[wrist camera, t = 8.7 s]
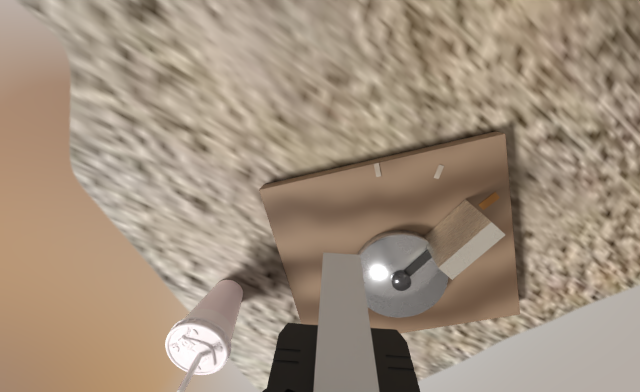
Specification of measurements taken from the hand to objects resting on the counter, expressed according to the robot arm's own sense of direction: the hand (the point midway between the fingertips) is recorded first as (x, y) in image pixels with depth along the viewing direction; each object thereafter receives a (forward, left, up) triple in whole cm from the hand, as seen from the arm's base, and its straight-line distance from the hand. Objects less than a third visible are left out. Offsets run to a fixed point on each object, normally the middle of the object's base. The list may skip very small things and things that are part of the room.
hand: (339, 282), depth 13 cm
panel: (+11, +4, -23) cm, 25 cm away
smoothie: (+13, -17, -23) cm, 31 cm away
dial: (+11, +6, -20) cm, 24 cm away
